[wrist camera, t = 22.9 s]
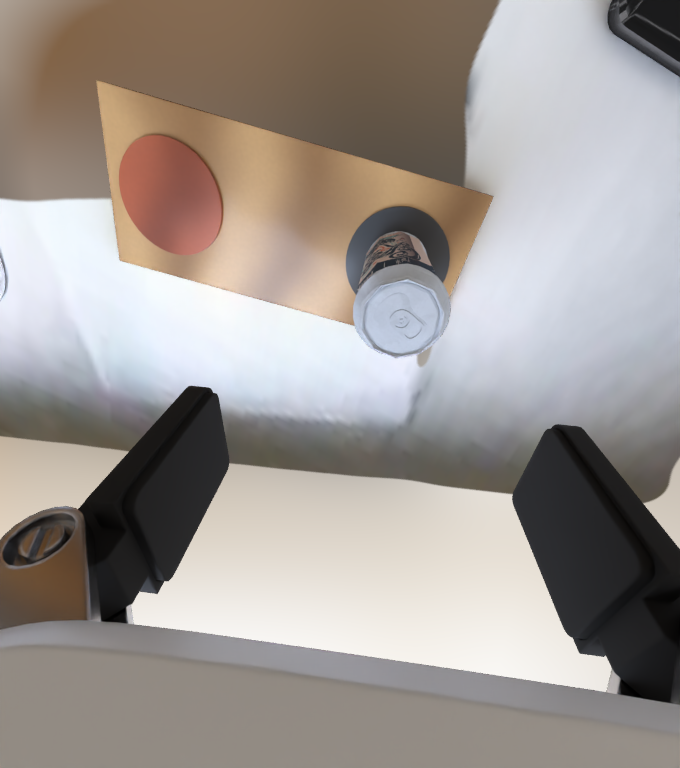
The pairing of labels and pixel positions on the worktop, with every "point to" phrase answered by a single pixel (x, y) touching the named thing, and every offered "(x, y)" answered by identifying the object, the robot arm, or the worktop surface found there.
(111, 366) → the worktop surface
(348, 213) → the board
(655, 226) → the worktop surface
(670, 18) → the phone
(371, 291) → the beer can
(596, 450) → the robot arm
